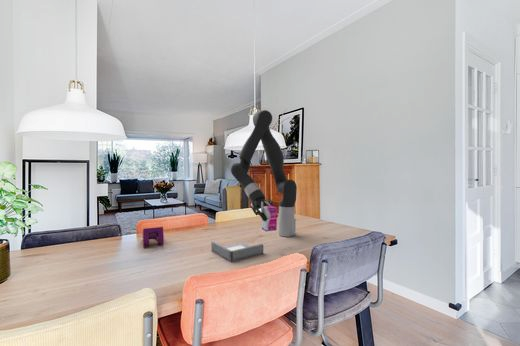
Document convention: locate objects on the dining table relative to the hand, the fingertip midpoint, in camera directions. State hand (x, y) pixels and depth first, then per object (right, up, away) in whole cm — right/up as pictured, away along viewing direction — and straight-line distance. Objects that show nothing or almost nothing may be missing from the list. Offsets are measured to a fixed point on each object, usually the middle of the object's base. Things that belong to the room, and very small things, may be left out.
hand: (271, 219), depth 129 cm
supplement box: (-1, -6, +1) cm, 6 cm away
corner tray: (-17, -15, -3) cm, 23 cm away
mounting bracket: (-64, -15, +12) cm, 66 cm away
